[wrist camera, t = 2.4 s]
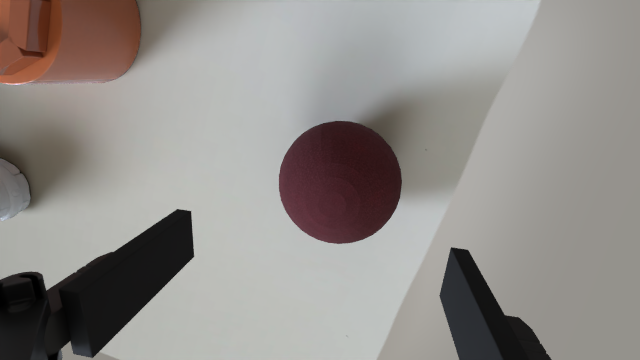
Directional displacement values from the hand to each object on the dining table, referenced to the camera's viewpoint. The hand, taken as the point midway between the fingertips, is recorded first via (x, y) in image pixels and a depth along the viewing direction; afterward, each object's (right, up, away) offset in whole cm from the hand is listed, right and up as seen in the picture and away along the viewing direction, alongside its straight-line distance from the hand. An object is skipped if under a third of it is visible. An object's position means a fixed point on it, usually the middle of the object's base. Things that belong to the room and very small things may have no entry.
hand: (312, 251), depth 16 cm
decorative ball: (+3, +5, +15) cm, 16 cm away
